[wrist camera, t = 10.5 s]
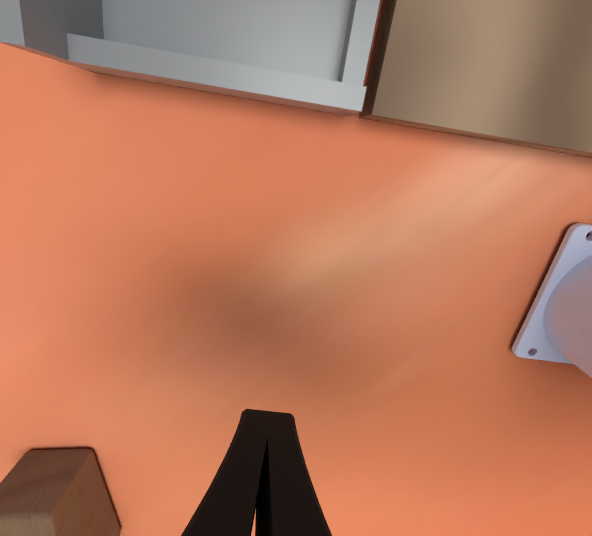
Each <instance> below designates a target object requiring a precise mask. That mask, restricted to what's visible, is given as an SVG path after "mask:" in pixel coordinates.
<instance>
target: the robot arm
mask: <svg viewBox="0 0 592 536" xmlns="http://www.w3.org/2000/svg"><path fill="white" fill-rule="evenodd" d="M589 232H590V235H589V236H588V237H587V238H586V235H587V234H588V233H589ZM530 349H531V350H530ZM529 350H530V351H529ZM512 352H513V353H514V354H515V355H516V356H517V357H520V358H527V359H535V360H544V361H552V362H560V363H568V364H574V365H576V366H577V367H578V368H579V369H581V370H582V371H583V372H584V373H586V374H587V375H588V376H589V377H590V378H592V225H591V224H584V223H576V224H574V225H572V226H571V227H570V228H569V229H568V231H567V233H566V235H565V237H564V239H563V241H562V243H561V245H560V247H559V249H558V252H557V254H556V256H555V258H554V260H553V262H552V264H551V266H550V268H549V270H548V273H547V275H546V277H545V279H544V281H543V283H542V285H541V287H540V289H539V292H538V294H537V296H536V298H535V300H534V302H533V304H532V306H531V308H530V310H529V313H528V315H527V317H526V319H525V321H524V323H523V325H522V327H521V329H520V332H519V334H518V336H517V338H516V340H515V342H514V344H513V346H512ZM255 509H256V528H255V536H332V534H331V532H330V529H329V527H328V525H327V522H326V520H325V517H324V515H323V512H322V509H321V507H320V504H319V501H318V499H317V496H316V493H315V490H314V487H313V484H312V482H311V479H310V476H309V473H308V470H307V467H306V464H305V460H304V457H303V453H302V450H301V446H300V443H299V439H298V435H297V430H296V425H295V420H294V417H293V415H292V414H290V413H281V412H271V411H262V410H252V409H246V410H244V411H243V412H242V414H241V418H240V421H239V424H238V427H237V430H236V433H235V435H234V438H233V440H232V442H231V444H230V447H229V449H228V451H227V453H226V455H225V458H224V459H223V461H222V463H221V465H220V467H219V469H218V471H217V473H216V475H215V477H214V479H213V481H212V483H211V485H210V487H209V489H208V490H207V492H206V494H205V496H204V497H203V499H202V501H201V503H200V504H199V506H198V508H197V510H196V511H195V513H194V515H193V516H192V518H191V520H190V522H189V523H188V525H187V527H186V528H185V530H184V532H183V533H182V535H181V536H251V532H252V526H253V520H254V515H255Z"/></svg>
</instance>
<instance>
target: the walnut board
mask: <svg viewBox="0 0 592 536" xmlns="http://www.w3.org/2000/svg"><path fill="white" fill-rule="evenodd" d="M366 87H367V88H366V93H365V98H364V102H363V107H362V112H360V116H359V118H363V119H369V120H375V121H381V122H387V123H393V124H398V125H404V126H410V127H416V128H422V129H428V130H433V131H439V132H445V133H451V134H457V135H462V136H468V137H474V138H480V139H486V140H492V141H497V142H503V143H509V144H515V145H521V146H527V147H532V148H538V149H544V150H550V151H556V152H561V153H567V154H573V155H579V156H585V157H591V158H592V0H383V4H382V9H381V14H380V18H379V23H378V28H377V33H376V38H375V43H374V48H373V53H372V57H371V62H370V67H369V72H368V77H367V82H366Z"/></svg>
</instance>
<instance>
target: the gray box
mask: <svg viewBox="0 0 592 536" xmlns="http://www.w3.org/2000/svg"><path fill="white" fill-rule="evenodd" d="M379 4H380V0H0V43H3V44H6V45H10V46H13V47H16V48H19V49H22V50H25V51H29V52H32V53H35V54H38V55H41V56H44V57H47V58H51V59H54V60H57V61H60V62H63V63H66V64H70V65H73V66H76V67H79V68H82V69H85V70H88V71H92V72H96V73H102V74H107V75H113V76H119V77H125V78H131V79H136V80H142V81H148V82H154V83H160V84H166V85H171V86H177V87H183V88H189V89H195V90H200V91H206V92H212V93H218V94H224V95H230V96H235V97H241V98H247V99H253V100H259V101H265V102H270V103H276V104H282V105H288V106H294V107H299V108H305V109H311V110H317V111H323V112H329V113H334V114H340V115H346V116H349V115H352V114H355V113H359V112H362V107H363V102H364V98H365V93H366V88H367V87H366V86H363V83H364V78H365V73H366V68H367V63H368V58H369V53H370V48H371V44H372V39H373V34H374V29H375V24H376V19H377V14H378V9H379Z"/></svg>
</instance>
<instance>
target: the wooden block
mask: <svg viewBox="0 0 592 536" xmlns="http://www.w3.org/2000/svg"><path fill="white" fill-rule="evenodd" d="M119 535H120V526H119V523H118V520H117V517H116V514H115V512H114V509H113V506H112V503H111V500H110V498H109V495H108V492H107V489H106V486H105V483H104V481H103V478H102V475H101V472H100V469H99V466H98V464H97V461H96V458H95V455H94V452H93V451H92V450H91V449H54V450H31V451H28V452H27V453H25V454H24V455H23V457H22V458H21V459H20V460H19V461H18V463H17V464H16V465H15V466H14V467H13V469H12V470H11V471H10V472H9V473H8V475H7V476H6V477H5V478H4V479H3V481H2V482H1V483H0V536H119Z"/></svg>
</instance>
